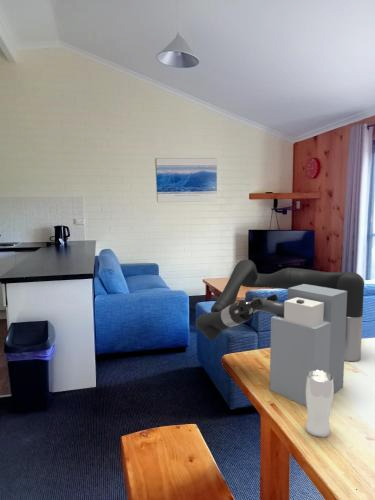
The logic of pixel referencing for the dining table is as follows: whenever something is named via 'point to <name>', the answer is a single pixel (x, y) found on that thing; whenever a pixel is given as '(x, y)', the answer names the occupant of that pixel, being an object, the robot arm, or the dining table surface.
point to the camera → (295, 310)
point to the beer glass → (318, 402)
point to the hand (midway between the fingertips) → (268, 299)
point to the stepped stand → (308, 344)
